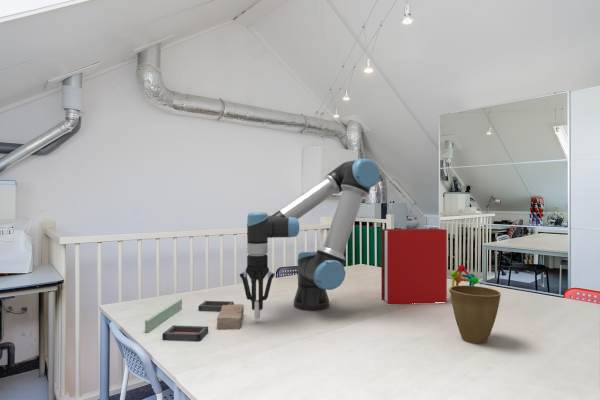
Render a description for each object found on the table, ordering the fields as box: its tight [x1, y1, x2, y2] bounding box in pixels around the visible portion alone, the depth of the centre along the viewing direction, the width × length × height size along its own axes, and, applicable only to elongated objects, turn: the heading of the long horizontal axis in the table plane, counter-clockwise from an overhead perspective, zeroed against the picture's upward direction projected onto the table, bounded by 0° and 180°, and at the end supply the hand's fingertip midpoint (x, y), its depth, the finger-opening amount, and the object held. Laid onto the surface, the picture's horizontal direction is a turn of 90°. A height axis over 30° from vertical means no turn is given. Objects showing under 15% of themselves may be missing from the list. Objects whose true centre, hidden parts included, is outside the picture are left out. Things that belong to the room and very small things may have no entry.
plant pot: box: [449, 284, 502, 344], centre depth 122 cm, size 15×15×16 cm
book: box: [381, 228, 448, 305], centre depth 168 cm, size 27×8×32 cm, turn 96°
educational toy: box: [448, 264, 479, 293], centre depth 179 cm, size 16×13×15 cm
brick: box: [216, 303, 245, 330], centre depth 140 cm, size 17×8×5 cm, turn 4°
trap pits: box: [161, 300, 235, 342], centre depth 141 cm, size 12×40×2 cm, turn 175°
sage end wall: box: [144, 298, 183, 333], centre depth 142 cm, size 1×28×4 cm, turn 175°
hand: (257, 318), depth 139 cm, fingers closed
